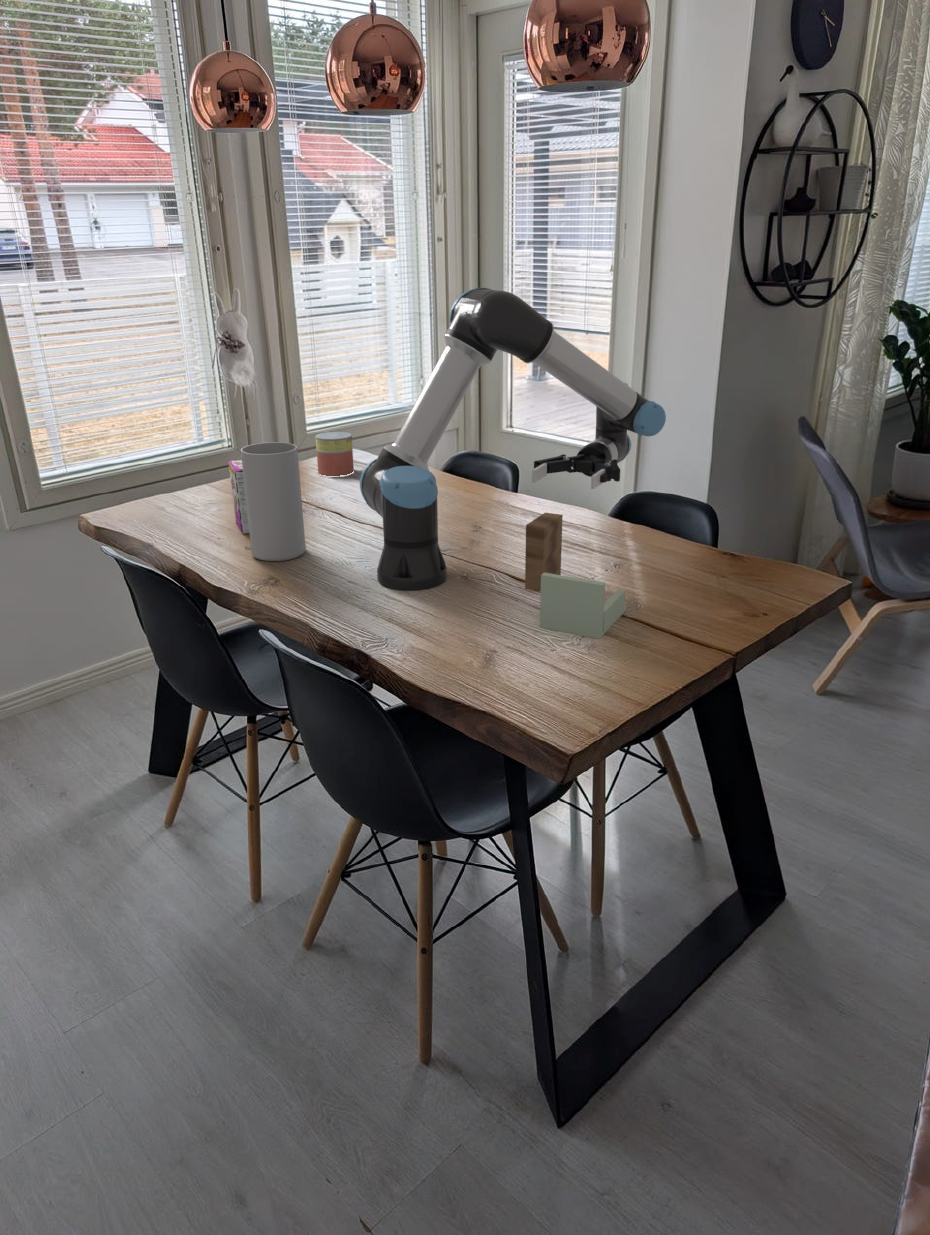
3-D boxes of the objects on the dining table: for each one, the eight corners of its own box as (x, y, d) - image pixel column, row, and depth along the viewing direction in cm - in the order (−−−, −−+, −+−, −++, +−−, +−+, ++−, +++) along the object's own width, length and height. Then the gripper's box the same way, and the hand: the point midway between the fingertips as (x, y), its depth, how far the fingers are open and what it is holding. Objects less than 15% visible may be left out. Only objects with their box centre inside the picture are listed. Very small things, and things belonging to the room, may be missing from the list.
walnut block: (542, 591, 189) (544, 527, 184) (524, 588, 191) (526, 525, 185) (560, 576, 197) (562, 514, 192) (543, 573, 199) (545, 512, 194)
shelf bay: (599, 638, 167) (602, 585, 163) (539, 627, 172) (540, 575, 168) (627, 609, 180) (630, 558, 176) (570, 599, 185) (572, 549, 181)
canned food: (360, 474, 282) (357, 436, 277) (326, 479, 277) (323, 440, 272) (345, 467, 291) (343, 430, 286) (312, 472, 286) (309, 434, 281)
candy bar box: (234, 522, 237) (227, 460, 230) (253, 520, 238) (247, 459, 232) (241, 535, 227) (234, 470, 221) (261, 532, 229) (254, 468, 222)
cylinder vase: (241, 553, 214) (229, 448, 204) (286, 541, 222) (276, 439, 212) (271, 566, 205) (260, 457, 196) (316, 553, 213) (308, 447, 204)
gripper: (647, 478, 208) (617, 502, 190) (547, 468, 218) (510, 490, 201) (649, 446, 205) (619, 467, 187) (547, 437, 215) (510, 456, 198)
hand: (562, 479), depth 194 cm, fingers open, 13 cm apart
